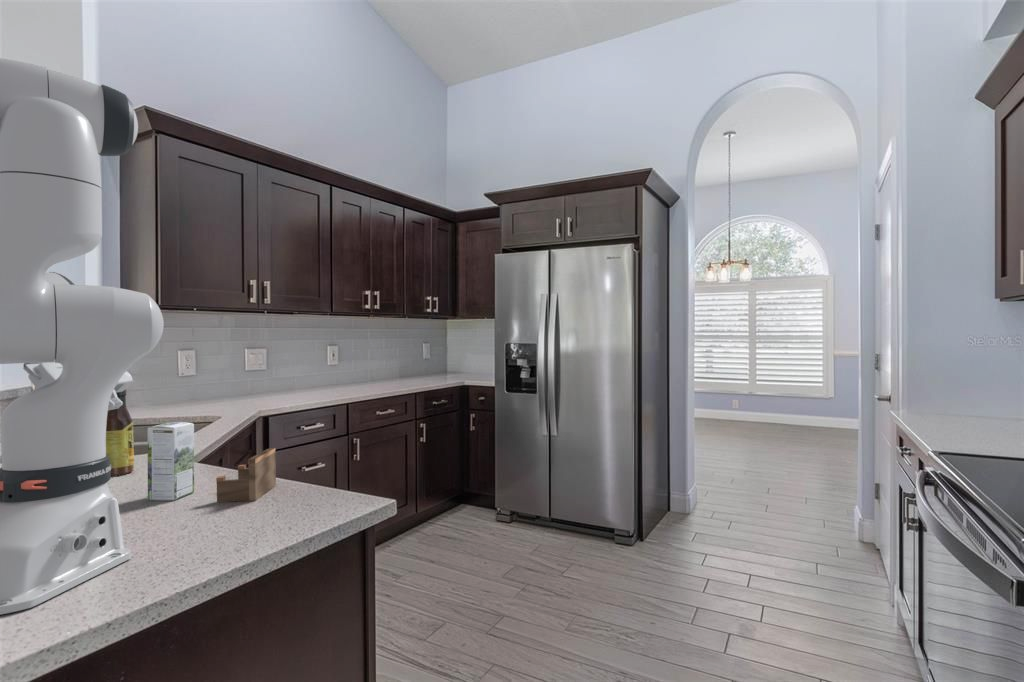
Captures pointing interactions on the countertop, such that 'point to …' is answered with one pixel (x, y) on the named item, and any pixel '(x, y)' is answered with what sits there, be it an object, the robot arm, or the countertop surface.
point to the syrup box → (170, 461)
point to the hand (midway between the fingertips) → (116, 407)
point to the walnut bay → (249, 479)
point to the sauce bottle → (120, 438)
